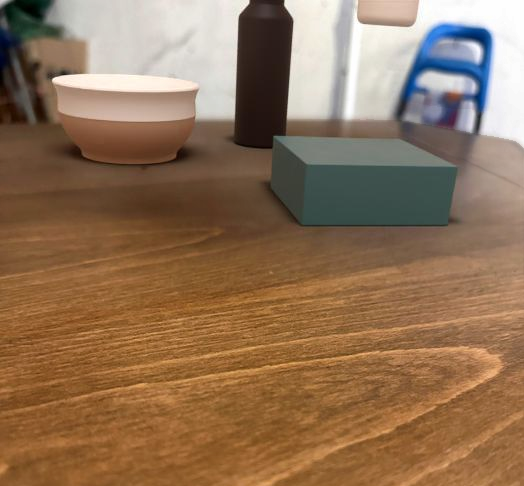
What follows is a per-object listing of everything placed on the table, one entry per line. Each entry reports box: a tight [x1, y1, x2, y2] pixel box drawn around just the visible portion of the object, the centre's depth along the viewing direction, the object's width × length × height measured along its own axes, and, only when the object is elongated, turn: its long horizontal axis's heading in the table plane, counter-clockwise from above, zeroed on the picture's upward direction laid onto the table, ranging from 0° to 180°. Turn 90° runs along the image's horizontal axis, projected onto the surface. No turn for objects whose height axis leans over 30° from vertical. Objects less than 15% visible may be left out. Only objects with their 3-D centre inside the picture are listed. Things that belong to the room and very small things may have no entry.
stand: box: [269, 135, 459, 226], centre depth 61 cm, size 13×13×5 cm
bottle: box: [233, 0, 295, 149], centre depth 84 cm, size 7×7×20 cm
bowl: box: [51, 73, 201, 165], centre depth 75 cm, size 16×16×8 cm
